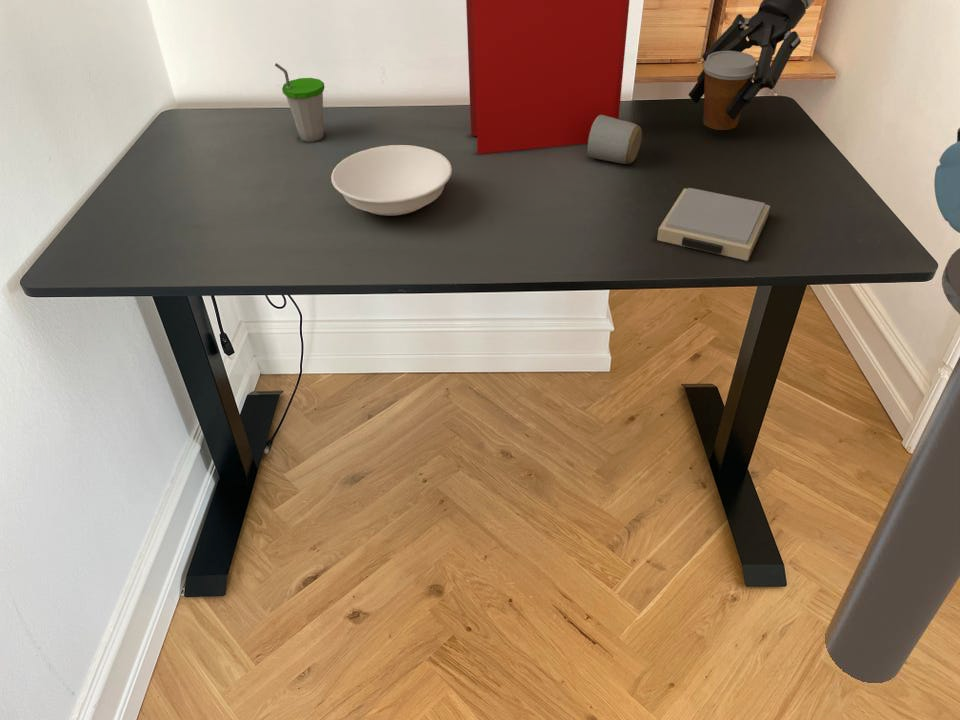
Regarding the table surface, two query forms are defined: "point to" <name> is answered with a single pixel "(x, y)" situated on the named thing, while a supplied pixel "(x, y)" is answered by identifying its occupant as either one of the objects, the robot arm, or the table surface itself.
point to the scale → (714, 223)
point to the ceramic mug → (614, 140)
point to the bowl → (392, 178)
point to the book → (543, 70)
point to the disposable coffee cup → (725, 85)
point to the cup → (305, 105)
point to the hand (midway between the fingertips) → (710, 107)
